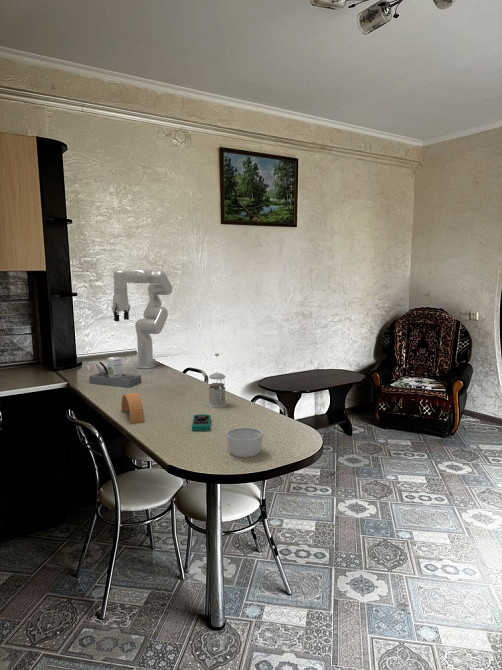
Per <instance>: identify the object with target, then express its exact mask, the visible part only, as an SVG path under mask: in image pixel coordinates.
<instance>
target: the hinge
mask: <svg viewBox="0 0 502 670" xmlns="http://www.w3.org/2000/svg"><path fill="white" fill-rule="evenodd" d="M95 366H96V369H97V372H98V373H101V372H108V364H106V362H105V361H103V360H102V361H101V360H100V361H98V362H97V363H95Z"/></svg>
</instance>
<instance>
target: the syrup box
mask: <svg viewBox="0 0 502 670" xmlns="http://www.w3.org/2000/svg"><path fill="white" fill-rule="evenodd" d="M107 366H108V375H109V378H120V377H122V374H123V367H122V366H123V361H122V358H121V357H118V356H111V357H107Z"/></svg>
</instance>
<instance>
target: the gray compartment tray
mask: <svg viewBox="0 0 502 670" xmlns="http://www.w3.org/2000/svg"><path fill="white" fill-rule="evenodd" d="M88 379H89V384H91V385H92V384H93V385H102V386H104V385H105V386H110V385H111V386H112V387H119V388H121V387H122V388H131V387H134V386H136V385H138V384H141V383H142V375H139V374H129V373H127V374H126V373H122V377H120V378H109V375H108V372H101V373H99V372H98V373H96V374H92V375H90V376H89V377H88Z"/></svg>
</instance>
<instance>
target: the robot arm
mask: <svg viewBox="0 0 502 670" xmlns="http://www.w3.org/2000/svg"><path fill="white" fill-rule="evenodd" d="M131 283H132V284H148V285H147V293H148V298H149V300H148V303H147V305H146V307H145V309H144V311H143V316H142V317H143V318H140V319H137V320H136V322H135V325H134V326H135V327H134V328H135V333H136V339H137V343H136V344H137V364H135V368H136V369H152V368H155V367H156V364H155V363H154V362H156V358H153V357H154V356H153V354H154V353H153V338H152V335H159V334H161V332H162V331H163V328H164V327H165V325H166V322H167V320H168V316H169V314H168V309H167V308H166V307H164V306H162V300H161V298H160V296H169V295H171V294H172V292H173V286H172V283H171V281H170V279H169V278H168V276H167V275H166V273H165V272H164V271H163V270H158V269H157V270H155V269H154V270H152V269H151V270H149V269H131V270H130V269H128V270H127V269H118V270H115V271H113V297H112V307H111V311H112V313H113V321H114V322H120V314H119V313H120V312H123V320H124V321H125V320H126V321H128V320H130V316H129V313H130V310H131V309H130V308H131V305H130V304H129V297H128V296H129V295H128V284H131Z"/></svg>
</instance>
